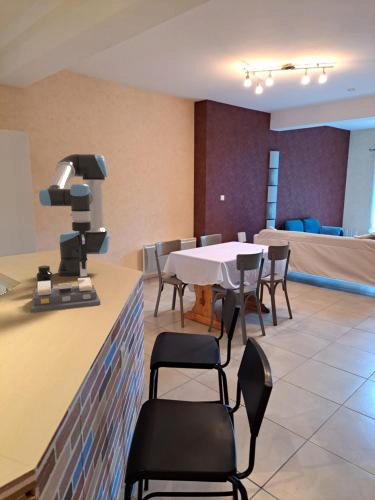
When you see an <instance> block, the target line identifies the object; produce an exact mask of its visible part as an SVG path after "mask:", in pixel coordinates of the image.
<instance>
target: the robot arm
mask: <svg viewBox="0 0 375 500" xmlns="http://www.w3.org/2000/svg"><path fill="white" fill-rule="evenodd" d="M75 177H78V178H79V177H80V178H82V181H83V182H84V183H80V184H79V183H73V184H70V182H71V180H72V179H73V178H75ZM107 177H108V168H107V162H106V158H105V156H104V155H102V154H97V153H95V154H93V153H92V154H91V153H90V154H89V153H86V154H83V153H82V154H80V153H79V154H77V153H75V154H70V155H66V156H65V157H63V158H62V159H60V160H59V161H58V163H56V167H55V174H54V175H53V177H52V180H51V182H50V184H49V186H48V188H41V189H40V190H39V193H38V198H39V199H38V200H39V203H40V205H41V206H43V207H71V208H70V210H71V213H70V214H69V216H71V220H72V221H73V222H71V229H72V231H68V232H63V233H61V234H60V235H59V252H60V254H59V255H60V262H59V264H58V265H59V266H58V268H57V274H58V275H59V276H63V277H68V276H69V277H72V276H74V277H75V276H80V277H88V265H87V263H88V259H89V258H88V255H104V254H107V253H108V251H109V247H110V246H109V245H110V235H111V234H110V233H109V232H108V231H107V228H105V227H104V224H105V223H104V222H105V221H104V204H103V203H104V199H103V198H104V197H103V196H104V195H103V183H104V182H105V180H106V178H107ZM69 184H70V188H68V187H69Z"/></svg>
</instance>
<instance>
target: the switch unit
mask: <svg viewBox="0 0 375 500" xmlns="http://www.w3.org/2000/svg"><path fill="white" fill-rule="evenodd" d="M96 290H97V289H96V288H95V286H94V284H92V290H88V291H80V290H79V285H77V286H74V285H72V288H65V289H59V287H53V288H52V289H51V294H49V295H38V292H37V291H38V290H37V289H34V293H33V296H32V298H31V304H30V305H31V306H30V312H31V313H37V312H38V313H39V312H47V311H48V312H49V311H56V310H64V309H75V308H81V307H91V306H92V307H93V306H101V299H100V298H99V295H98V293H97V291H96Z"/></svg>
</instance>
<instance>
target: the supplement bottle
mask: <svg viewBox="0 0 375 500" xmlns="http://www.w3.org/2000/svg"><path fill="white" fill-rule="evenodd" d="M37 269H38V272H37V273H36V275H35V277H36V290H38V282H40V281H51V289H52V288H54V280H53V279H54V278H53V272H52V271H51V268H50V265H40V266H39V265H38V267H37Z"/></svg>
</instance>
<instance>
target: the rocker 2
mask: <svg viewBox="0 0 375 500" xmlns="http://www.w3.org/2000/svg"><path fill="white" fill-rule="evenodd" d="M72 287H73V284H72V283H71V282H67V283H58V286H57V288H59V289H65V288H72Z"/></svg>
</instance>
